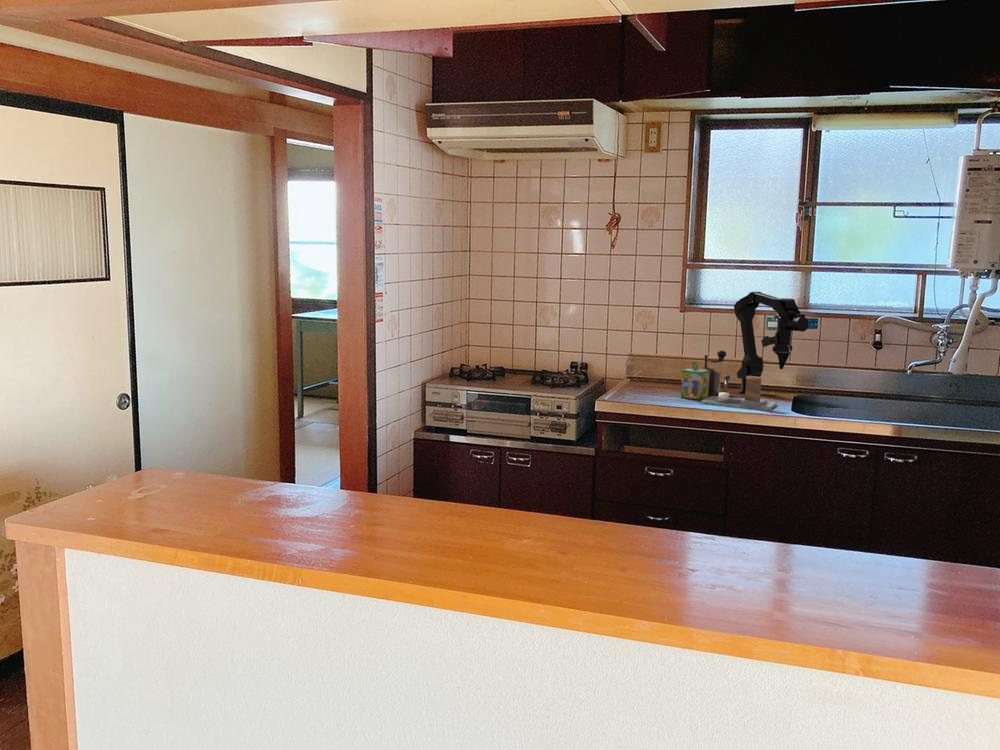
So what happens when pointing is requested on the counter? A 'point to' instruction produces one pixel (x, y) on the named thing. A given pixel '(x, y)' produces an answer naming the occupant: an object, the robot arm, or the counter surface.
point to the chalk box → (695, 383)
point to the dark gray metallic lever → (726, 383)
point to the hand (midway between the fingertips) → (781, 369)
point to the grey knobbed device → (714, 374)
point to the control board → (713, 401)
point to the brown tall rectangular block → (753, 388)
